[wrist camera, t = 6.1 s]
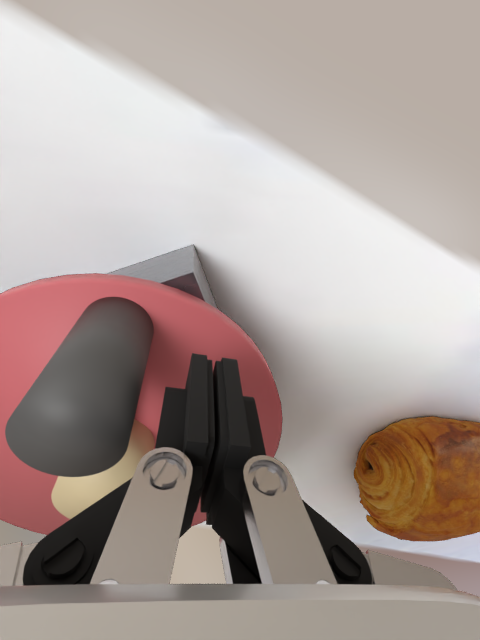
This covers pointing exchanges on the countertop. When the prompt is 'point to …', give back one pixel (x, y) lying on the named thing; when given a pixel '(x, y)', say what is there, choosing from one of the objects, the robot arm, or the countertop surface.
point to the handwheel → (102, 386)
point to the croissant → (422, 479)
